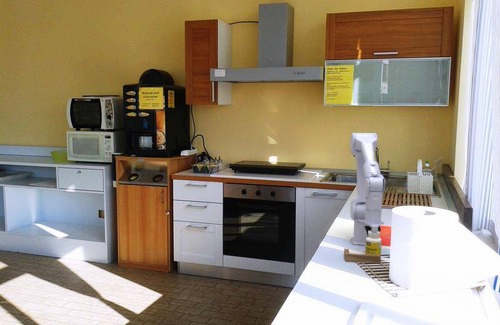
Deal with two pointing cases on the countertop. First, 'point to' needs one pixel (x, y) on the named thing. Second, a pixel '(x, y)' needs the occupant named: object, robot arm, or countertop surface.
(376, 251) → the supplement bottle
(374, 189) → the robot arm
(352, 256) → the wooden l-shaped block
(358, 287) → the countertop surface
